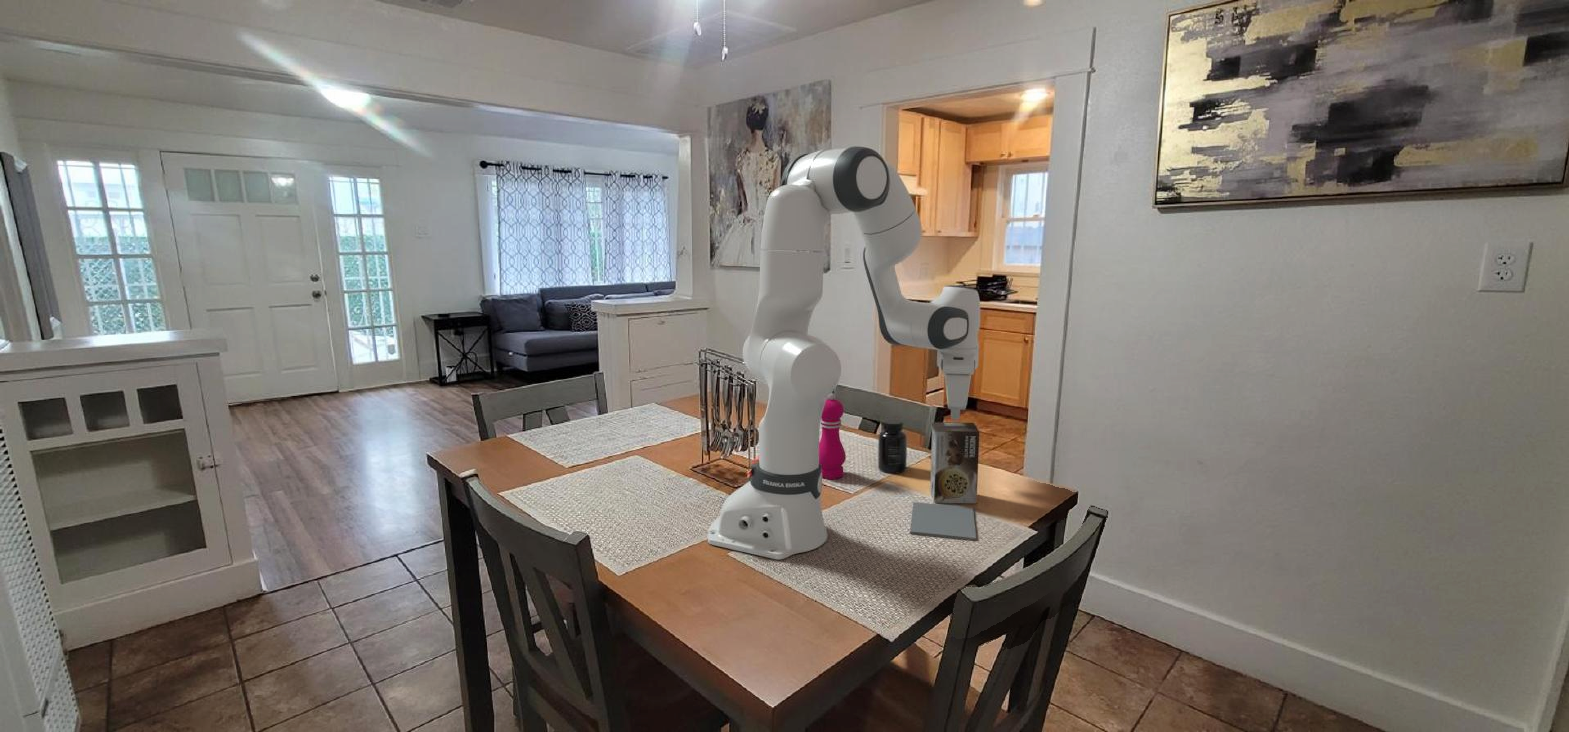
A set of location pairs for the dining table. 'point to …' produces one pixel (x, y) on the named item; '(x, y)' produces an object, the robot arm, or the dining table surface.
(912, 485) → the dining table surface
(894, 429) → the supplement bottle
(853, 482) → the dining table surface
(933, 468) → the coffee box
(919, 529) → the mat
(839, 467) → the pepper mill
